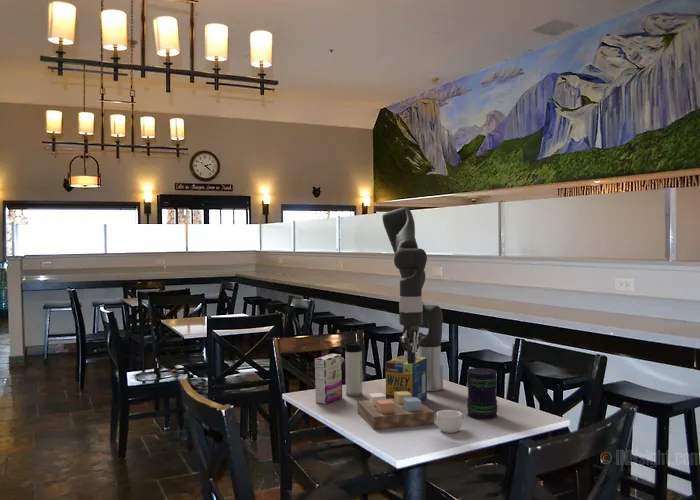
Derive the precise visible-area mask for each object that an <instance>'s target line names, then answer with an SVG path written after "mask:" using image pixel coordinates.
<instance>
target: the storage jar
mask: <svg viewBox="0 0 700 500" xmlns="http://www.w3.org/2000/svg"><path fill="white" fill-rule="evenodd" d="M497 374H498V372H497V370H496V369H493V368H488V367H474V368H468V369H466V382H467V383H466V387H467V404H466V405H467V406H466V408H467V416H468V417H469V418H471V419H474V420H480V421H481V420H483V421H487V420H489V421H490V420H493V419H494V420H495V419H497V418H498V413H497V412H498V400H497V389H498V384H497V383H498V376H497Z"/></svg>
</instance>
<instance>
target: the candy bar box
mask: <svg viewBox="0 0 700 500" xmlns="http://www.w3.org/2000/svg"><path fill="white" fill-rule="evenodd" d="M342 373H343V372H342V354H338V353H329V354H326V355H322V356H319V357H317V358H314V378H315V379H314V382H315V385H314V386H315V403H316V404H320V405H321V404H322V405H328V404H331V403H333V402H335V401H337V400H340V399H342V398H343V378H342V377H343V376H342V375H343V374H342Z"/></svg>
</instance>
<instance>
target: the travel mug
mask: <svg viewBox="0 0 700 500" xmlns="http://www.w3.org/2000/svg"><path fill="white" fill-rule="evenodd" d="M344 345H345V350H344V352H345V355H344V356H345V390H346V391H345V395H346V396H348V397H359V396H362V395H363V362H362V361H363V353H362V352H363V351H362V344H359V343H354V342H344Z"/></svg>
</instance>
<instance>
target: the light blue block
mask: <svg viewBox="0 0 700 500" xmlns="http://www.w3.org/2000/svg"><path fill="white" fill-rule="evenodd" d="M421 403H422V402H421V400H419V399H418V398H416V397H414V398H403V409H405V410H406V411H419V410H421Z"/></svg>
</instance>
